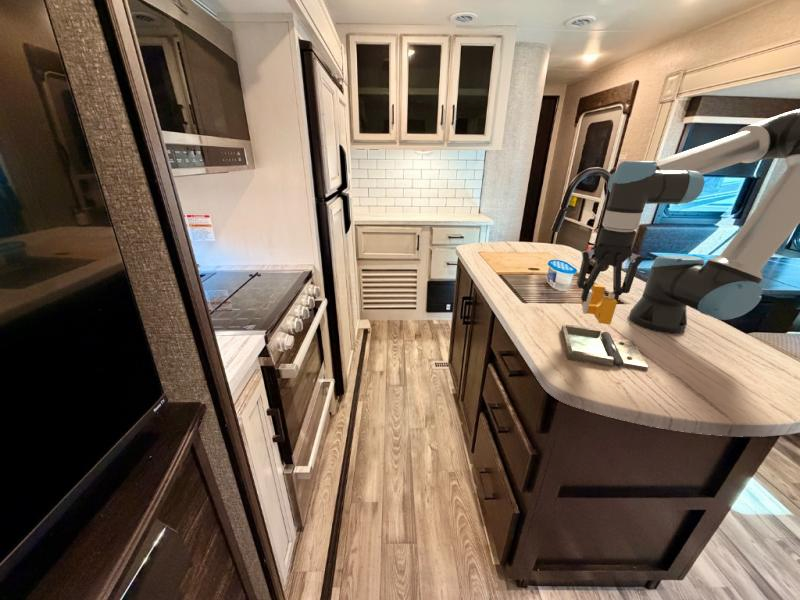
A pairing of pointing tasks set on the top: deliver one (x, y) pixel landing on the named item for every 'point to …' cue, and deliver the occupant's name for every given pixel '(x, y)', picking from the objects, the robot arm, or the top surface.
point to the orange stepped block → (601, 305)
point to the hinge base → (600, 348)
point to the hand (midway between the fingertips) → (595, 313)
